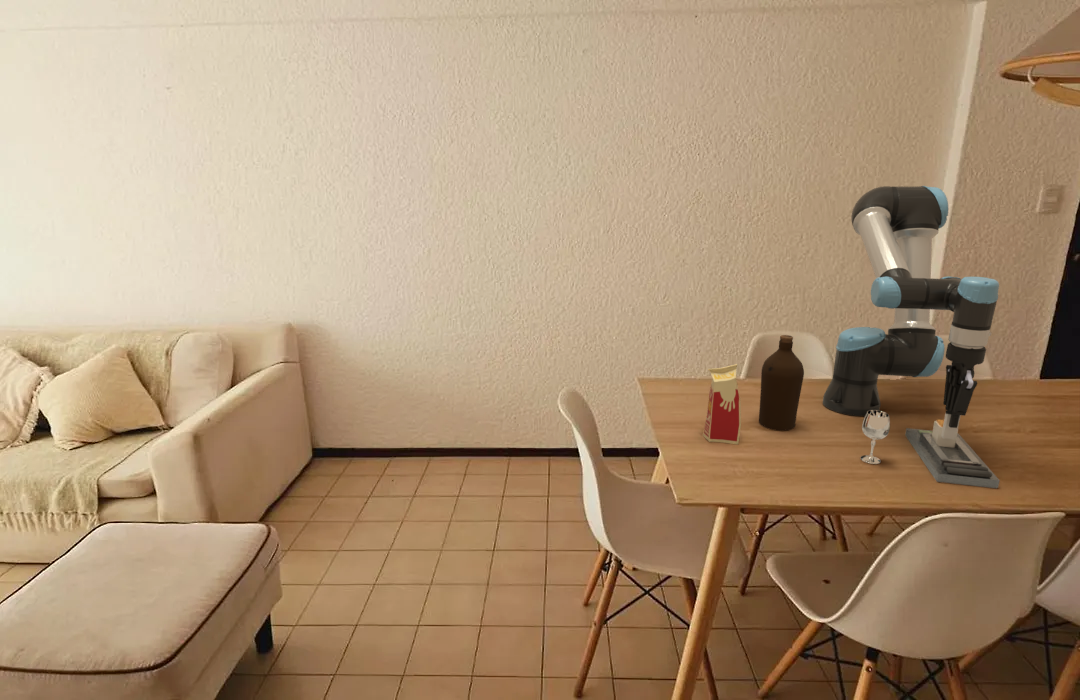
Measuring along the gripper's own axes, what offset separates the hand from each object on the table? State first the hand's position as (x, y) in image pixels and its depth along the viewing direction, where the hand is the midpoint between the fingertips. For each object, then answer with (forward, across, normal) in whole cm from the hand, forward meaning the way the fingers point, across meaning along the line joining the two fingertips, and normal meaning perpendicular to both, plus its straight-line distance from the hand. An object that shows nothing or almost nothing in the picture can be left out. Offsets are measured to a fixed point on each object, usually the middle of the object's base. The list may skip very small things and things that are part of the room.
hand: (948, 437), depth 153 cm
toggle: (+3, +3, 0) cm, 4 cm away
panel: (+5, -2, 0) cm, 5 cm away
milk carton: (+5, -2, +53) cm, 53 cm away
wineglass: (+5, -7, +18) cm, 20 cm away
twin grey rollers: (+3, -13, 0) cm, 13 cm away
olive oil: (+5, +10, +38) cm, 40 cm away
